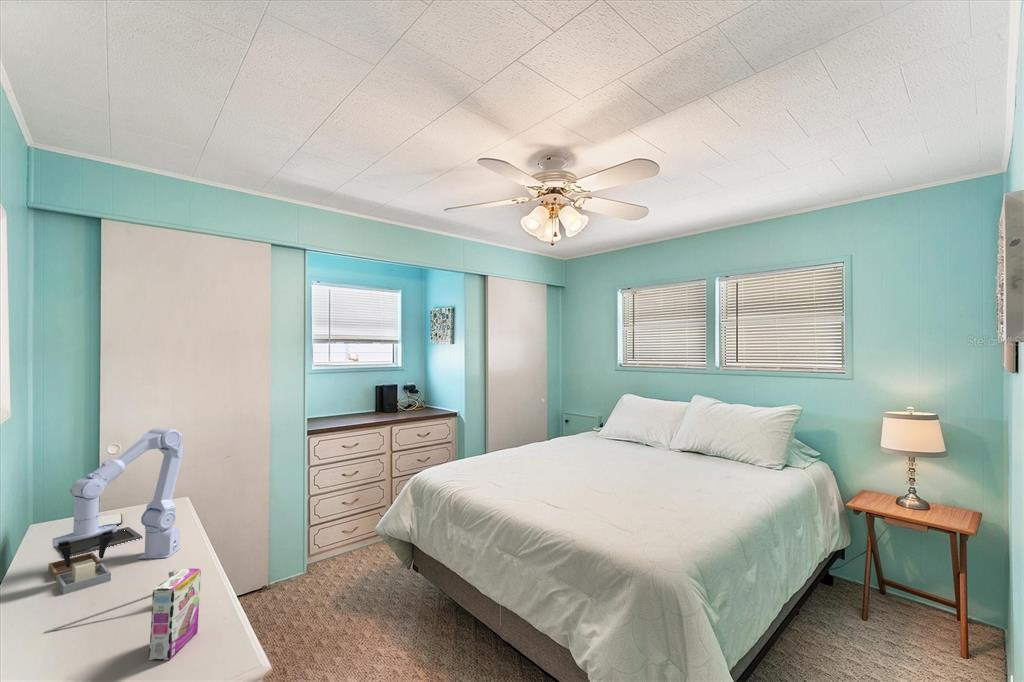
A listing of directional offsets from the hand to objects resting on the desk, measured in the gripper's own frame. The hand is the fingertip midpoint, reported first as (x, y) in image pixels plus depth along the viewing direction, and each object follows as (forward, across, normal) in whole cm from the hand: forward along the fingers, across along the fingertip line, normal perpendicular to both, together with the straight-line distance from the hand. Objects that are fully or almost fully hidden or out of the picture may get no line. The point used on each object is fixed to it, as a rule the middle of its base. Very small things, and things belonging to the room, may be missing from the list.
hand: (84, 561), depth 142 cm
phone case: (+7, -18, -58) cm, 61 cm away
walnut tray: (+6, 0, -13) cm, 14 cm away
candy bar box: (+6, -6, +59) cm, 59 cm away
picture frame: (+7, -10, -35) cm, 37 cm away
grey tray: (+6, 0, 0) cm, 6 cm away
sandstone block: (+6, 0, 0) cm, 6 cm away
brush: (+7, -2, +32) cm, 32 cm away
